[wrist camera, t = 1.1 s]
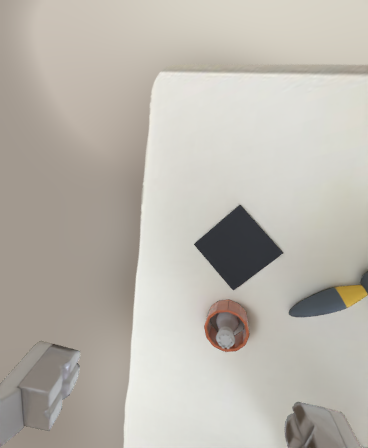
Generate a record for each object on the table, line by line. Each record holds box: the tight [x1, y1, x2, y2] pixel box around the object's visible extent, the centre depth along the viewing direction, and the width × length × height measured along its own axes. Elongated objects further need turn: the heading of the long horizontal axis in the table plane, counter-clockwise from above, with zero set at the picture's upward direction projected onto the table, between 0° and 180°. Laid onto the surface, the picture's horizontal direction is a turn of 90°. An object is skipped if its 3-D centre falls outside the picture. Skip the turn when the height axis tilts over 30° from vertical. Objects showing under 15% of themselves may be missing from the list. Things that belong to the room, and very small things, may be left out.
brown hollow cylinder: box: [204, 300, 249, 352], centre depth 44 cm, size 8×8×4 cm
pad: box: [194, 205, 283, 290], centre depth 44 cm, size 12×12×1 cm
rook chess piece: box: [216, 312, 239, 349], centre depth 42 cm, size 4×4×8 cm
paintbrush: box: [289, 272, 368, 317], centre depth 38 cm, size 20×5×5 cm, turn 123°
